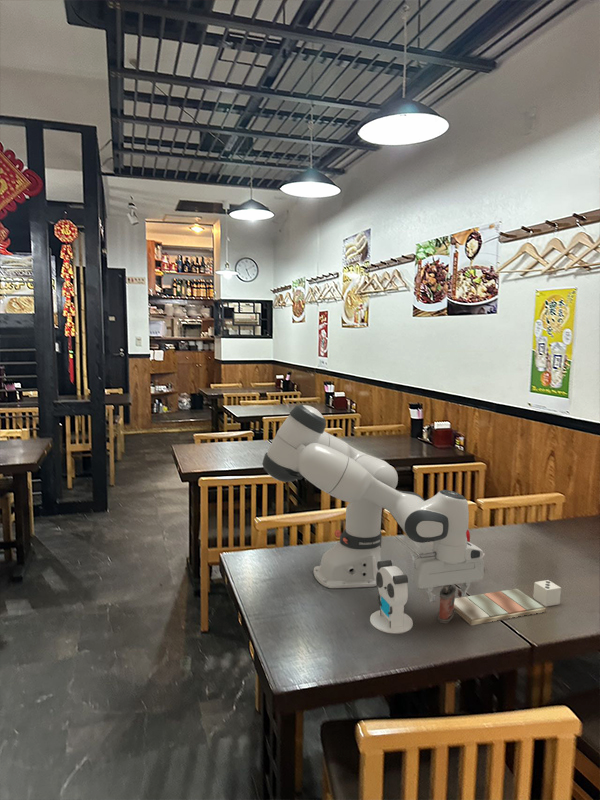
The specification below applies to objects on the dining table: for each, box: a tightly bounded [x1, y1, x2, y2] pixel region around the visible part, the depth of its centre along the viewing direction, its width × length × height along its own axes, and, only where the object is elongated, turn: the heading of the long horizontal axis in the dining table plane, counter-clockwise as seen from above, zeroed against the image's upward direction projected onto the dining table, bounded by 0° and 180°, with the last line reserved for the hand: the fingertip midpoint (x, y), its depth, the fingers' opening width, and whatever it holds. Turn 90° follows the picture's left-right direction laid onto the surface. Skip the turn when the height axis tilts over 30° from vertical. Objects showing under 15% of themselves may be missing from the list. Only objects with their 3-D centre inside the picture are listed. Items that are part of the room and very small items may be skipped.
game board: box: [454, 588, 547, 626], centre depth 152 cm, size 25×12×1 cm, turn 108°
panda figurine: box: [369, 559, 414, 634], centre depth 143 cm, size 12×11×15 cm
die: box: [532, 579, 562, 607], centre depth 156 cm, size 5×5×5 cm
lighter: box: [438, 584, 457, 624], centre depth 146 cm, size 8×3×10 cm, turn 148°
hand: (446, 598), depth 146 cm, fingers open, 8 cm apart
